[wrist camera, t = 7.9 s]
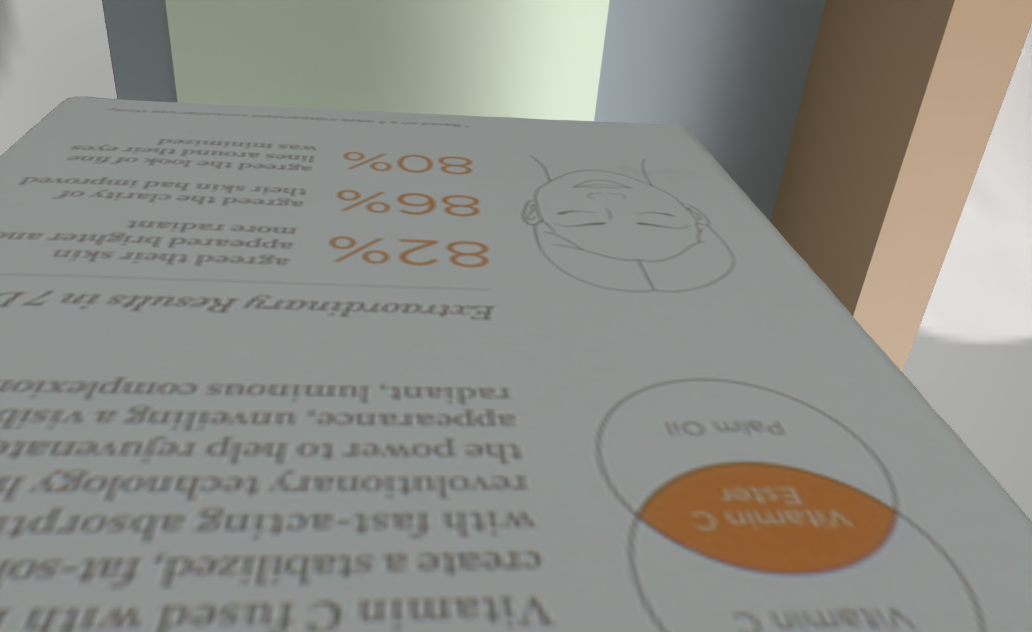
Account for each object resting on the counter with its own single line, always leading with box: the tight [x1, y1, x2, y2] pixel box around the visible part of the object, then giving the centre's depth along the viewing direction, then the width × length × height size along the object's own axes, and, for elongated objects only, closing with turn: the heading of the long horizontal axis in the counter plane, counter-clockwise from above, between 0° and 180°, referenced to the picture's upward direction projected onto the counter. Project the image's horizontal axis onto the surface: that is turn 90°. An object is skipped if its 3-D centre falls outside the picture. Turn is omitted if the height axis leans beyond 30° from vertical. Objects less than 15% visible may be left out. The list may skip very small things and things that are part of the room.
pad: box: [165, 0, 610, 121], centre depth 16 cm, size 9×7×1 cm
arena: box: [102, 0, 1032, 372], centre depth 14 cm, size 18×13×4 cm
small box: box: [0, 97, 1032, 632], centre depth 8 cm, size 8×6×10 cm
